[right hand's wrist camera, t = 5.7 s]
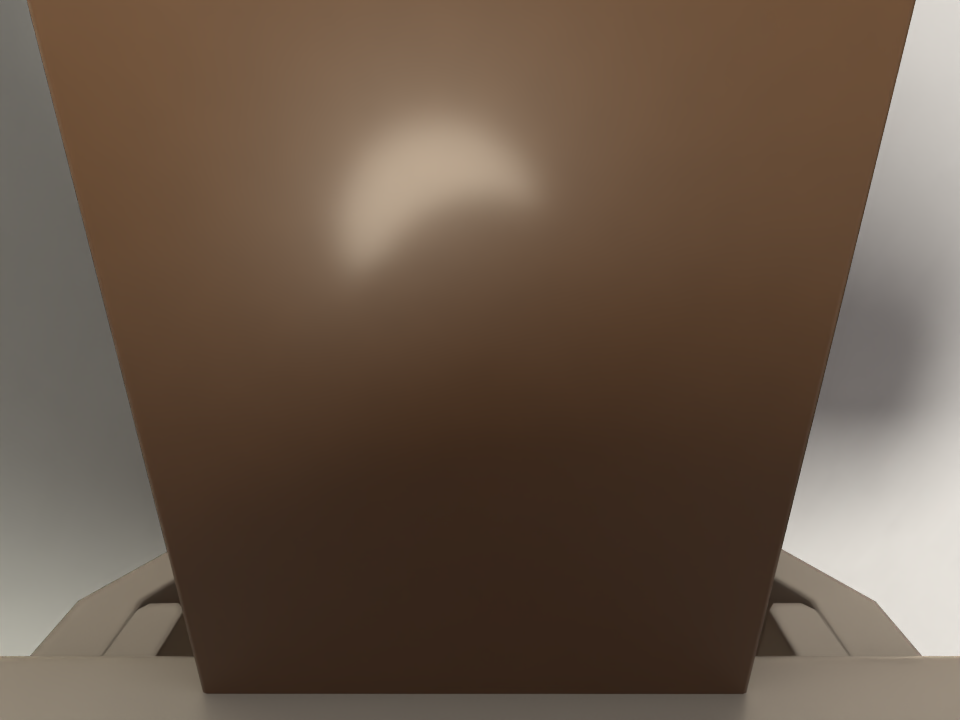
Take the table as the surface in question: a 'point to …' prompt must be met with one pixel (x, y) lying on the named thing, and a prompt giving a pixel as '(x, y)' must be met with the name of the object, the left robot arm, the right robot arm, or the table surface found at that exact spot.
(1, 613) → the table surface
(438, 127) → the post
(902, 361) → the table surface
